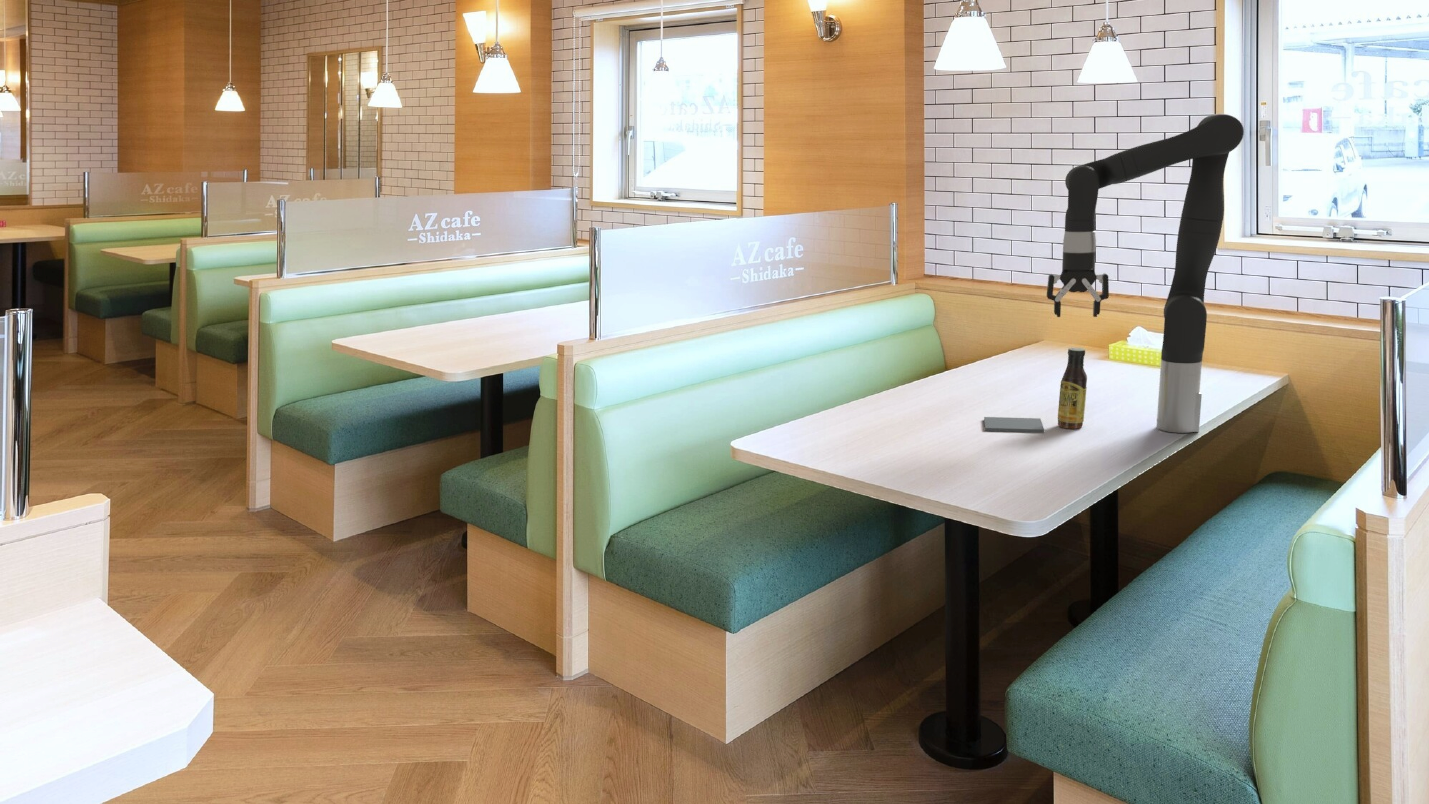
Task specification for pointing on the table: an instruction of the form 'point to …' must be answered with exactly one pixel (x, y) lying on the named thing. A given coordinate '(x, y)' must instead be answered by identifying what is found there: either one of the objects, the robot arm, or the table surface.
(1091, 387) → the table surface
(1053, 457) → the table surface
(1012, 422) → the placemat
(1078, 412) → the sauce bottle
